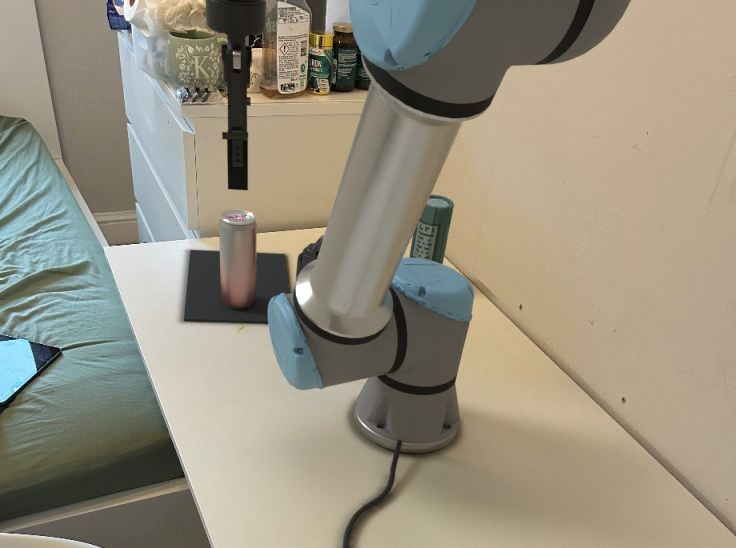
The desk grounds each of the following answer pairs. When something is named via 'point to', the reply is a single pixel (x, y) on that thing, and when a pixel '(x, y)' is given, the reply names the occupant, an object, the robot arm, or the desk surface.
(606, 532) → the desk surface
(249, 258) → the beverage can
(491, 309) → the desk surface
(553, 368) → the desk surface
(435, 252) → the can
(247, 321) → the mat
